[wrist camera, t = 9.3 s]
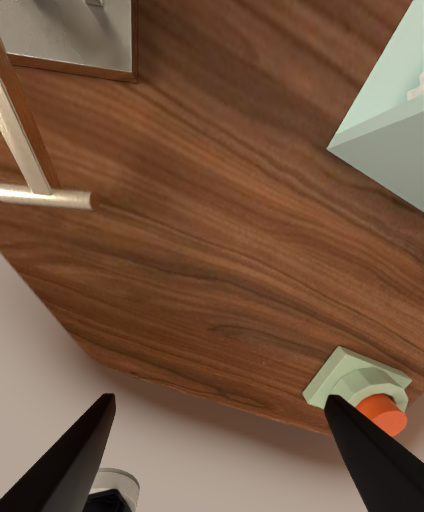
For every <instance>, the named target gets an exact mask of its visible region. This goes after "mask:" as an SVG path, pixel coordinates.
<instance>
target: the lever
mask: <svg viewBox="0 0 424 512" xmlns="http://www.w3.org/2000/svg"><path fill="white" fill-rule="evenodd" d="M0 132H1V134H2V136H3V137H4V139H5V141H6V143H7V145H8V147H9V149H10V151H11V153H12V155H13V157H14V159H15V161H16V162H17V164H18V166H19V168H20V170H21V172H22V174H23V176H24V178H25V180H26V182H27V183H18V182H9V181H0V201H2V202H5V203H14V204H25V205H35V206H46V207H56V208H67V209H78V210H88V211H96V210H97V209H98V208H99V203H100V201H99V196H98V193H97V192H96V191H94V190H86V189H76V188H67V187H61V185H60V182H59V180H58V177H57V175H56V172H55V170H54V167H53V165H52V162H51V160H50V157H49V155H48V153H47V150H46V148H45V145H44V143H43V140H42V138H41V135H40V133H39V130H38V128H37V126H36V123H35V121H34V118H33V116H32V113H31V111H30V108H29V106H28V103H27V101H26V98H25V96H24V94H23V91H22V89H21V86H20V84H19V81H18V79H17V76H16V74H15V71H14V69H13V67H12V64H11V62H10V59H9V57H8V54H7V52H6V49H5V47H4V44H3V42H2V39H1V37H0Z"/></svg>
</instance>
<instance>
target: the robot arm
mask: <svg viewBox="0 0 424 512" xmlns="http://www.w3.org/2000/svg"><path fill="white" fill-rule="evenodd" d="M115 412H116V403H115V395H114V394H113V393H112V394H111V393H110V394H109V393H105V394H103V395H102V396H101V397H100V398H99V399H98V400H97V401H96V402H95V403H94V404H93V405H92V406H91V407H90V408H89V409H88V410H87V411H86V412H85V413H84V414H83V415H82V416H81V417H80V418H79V419H78V420H77V421H76V422H75V423H74V424H73V425H72V426H71V427H70V428H69V429H68V430H67V431H66V432H65V433H64V435H62V436H61V438H60V439H59V440H58V441H57V442H56V443H55V444H54V445H53V446H52V447H51V448H50V449H49V450H48V451H47V452H46V453H45V454H44V455H43V456H42V457H41V458H40V459H39V460H38V461H37V462H36V463H35V464H34V465H33V466H32V467H31V468H30V469H29V470H28V471H27V472H26V474H24V475H23V476H22V478H20V479H19V481H18V482H17V483H16V484H15V485H14V486H13V487H12V488H11V489H10V490H9V491H8V492H7V493H6V494H5V495H4V496H3V497H2V498H1V499H0V512H132V511H131V509H130V507H129V506H128V504H127V503H126V501H125V500H124V498H123V496H122V495H121V493H120V492H119V490H118V489H115V488H114V489H109V490H105V491H101V492H96V493H92V494H89V492H90V490H91V487H92V485H93V482H94V479H95V477H96V474H97V471H98V469H99V466H100V463H101V459H102V456H103V452H104V450H105V446H106V443H107V439H108V436H109V433H110V430H111V426H112V423H113V420H114V416H115ZM324 413H325V416H326V418H327V421H328V423H329V426H330V428H331V431H332V433H333V436H334V438H335V441H336V443H337V446H338V448H339V451H340V453H341V455H342V458H343V460H344V462H345V465H346V466H347V469H348V471H349V473H350V475H351V477H352V479H353V481H354V483H355V485H356V487H357V489H358V491H359V493H360V495H361V498H362V500H363V502H364V504H365V506H366V508H367V510H368V512H424V463H423V462H422V461H421V460H419V459H418V458H417V457H416V456H414V455H413V454H412V453H411V452H409V451H408V450H407V449H406V448H404V447H403V446H402V445H401V444H399V443H398V442H397V441H396V440H394V439H393V438H392V437H391V436H390V435H388V434H387V433H386V432H385V431H383V430H382V429H381V428H380V427H378V426H377V425H376V424H375V423H373V422H372V421H371V420H370V419H369V418H367V417H366V416H365V415H364V414H362V413H361V412H360V411H359V410H357V409H356V408H355V407H354V406H352V405H351V404H350V403H349V402H347V401H346V400H345V399H344V398H343V397H341V396H340V395H337V394H330V395H328V397H327V400H326V403H325V407H324Z"/></svg>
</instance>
